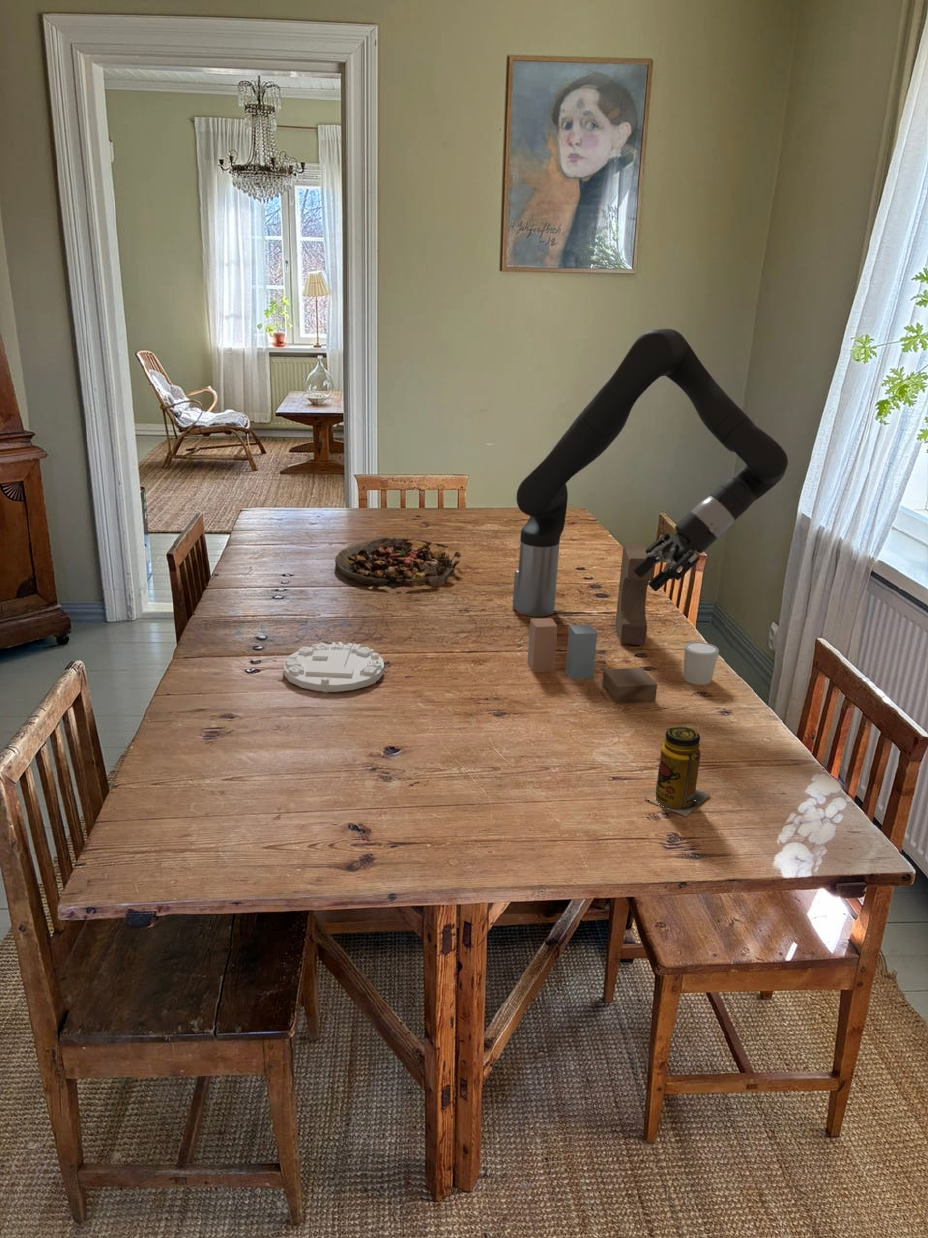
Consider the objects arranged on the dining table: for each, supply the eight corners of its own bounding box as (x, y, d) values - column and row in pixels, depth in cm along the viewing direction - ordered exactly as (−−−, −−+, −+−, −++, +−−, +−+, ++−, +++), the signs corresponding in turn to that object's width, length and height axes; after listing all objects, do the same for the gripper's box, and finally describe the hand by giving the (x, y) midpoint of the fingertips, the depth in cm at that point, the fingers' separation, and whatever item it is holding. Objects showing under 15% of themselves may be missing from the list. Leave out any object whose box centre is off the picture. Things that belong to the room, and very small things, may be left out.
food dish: (484, 582, 248) (486, 554, 245) (374, 605, 231) (374, 575, 228) (415, 543, 275) (415, 517, 272) (311, 561, 257) (310, 534, 254)
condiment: (644, 800, 149) (652, 733, 145) (670, 780, 155) (679, 715, 151) (685, 818, 145) (695, 749, 140) (710, 796, 151) (721, 730, 147)
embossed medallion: (264, 683, 184) (264, 669, 183) (315, 647, 201) (315, 635, 200) (355, 703, 177) (355, 689, 176) (400, 664, 195) (400, 651, 194)
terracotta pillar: (532, 672, 193) (535, 626, 189) (527, 663, 197) (530, 618, 194) (553, 671, 194) (557, 626, 190) (548, 662, 198) (551, 618, 194)
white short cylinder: (715, 675, 195) (720, 644, 193) (712, 688, 189) (717, 656, 186) (682, 669, 197) (686, 639, 195) (678, 682, 191) (682, 651, 188)
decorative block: (645, 646, 208) (655, 560, 201) (619, 644, 208) (628, 558, 201) (639, 627, 219) (648, 545, 211) (614, 626, 219) (623, 543, 212)
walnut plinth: (616, 705, 181) (618, 686, 179) (601, 687, 188) (603, 669, 187) (655, 703, 182) (657, 684, 181) (639, 685, 190) (641, 667, 188)
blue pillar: (571, 679, 190) (575, 633, 187) (565, 670, 195) (569, 625, 191) (592, 678, 191) (597, 633, 188) (586, 669, 195) (590, 624, 192)
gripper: (679, 502, 191) (620, 558, 193) (708, 520, 178) (645, 580, 180) (701, 527, 194) (642, 582, 196) (731, 547, 180) (668, 605, 183)
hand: (644, 581), depth 188 cm, fingers open, 8 cm apart
